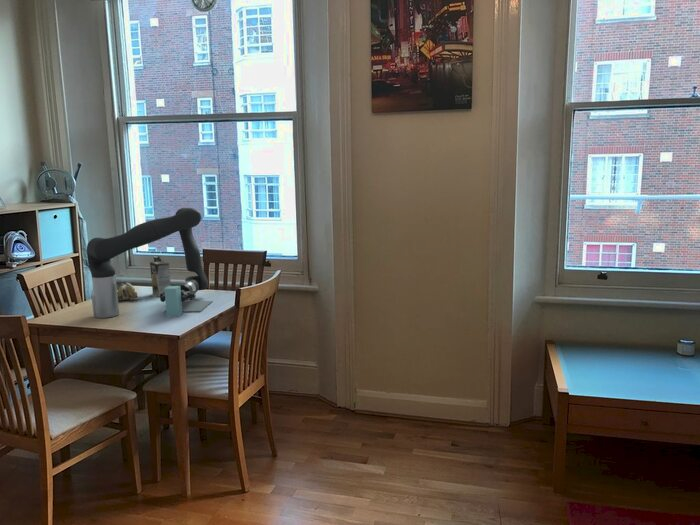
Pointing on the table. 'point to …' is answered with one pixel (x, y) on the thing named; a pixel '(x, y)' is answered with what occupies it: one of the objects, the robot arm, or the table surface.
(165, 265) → the coffee box
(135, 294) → the ceramic sculpture
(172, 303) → the card box
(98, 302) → the robot arm
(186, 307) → the rubber mat
